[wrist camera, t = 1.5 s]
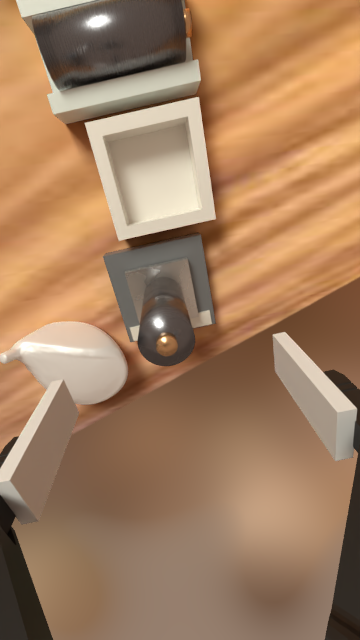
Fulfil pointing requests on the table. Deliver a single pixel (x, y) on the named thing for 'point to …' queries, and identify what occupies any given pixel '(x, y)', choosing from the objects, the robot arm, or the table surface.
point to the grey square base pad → (154, 255)
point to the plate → (169, 269)
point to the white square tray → (154, 168)
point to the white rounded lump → (73, 360)
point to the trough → (118, 90)
